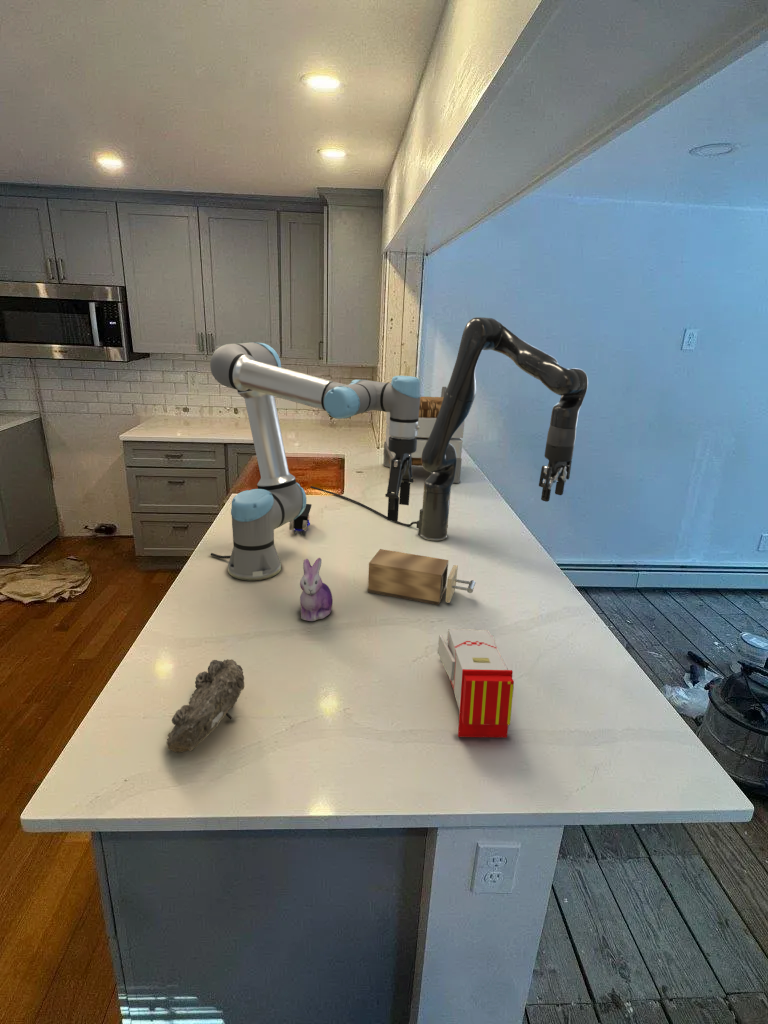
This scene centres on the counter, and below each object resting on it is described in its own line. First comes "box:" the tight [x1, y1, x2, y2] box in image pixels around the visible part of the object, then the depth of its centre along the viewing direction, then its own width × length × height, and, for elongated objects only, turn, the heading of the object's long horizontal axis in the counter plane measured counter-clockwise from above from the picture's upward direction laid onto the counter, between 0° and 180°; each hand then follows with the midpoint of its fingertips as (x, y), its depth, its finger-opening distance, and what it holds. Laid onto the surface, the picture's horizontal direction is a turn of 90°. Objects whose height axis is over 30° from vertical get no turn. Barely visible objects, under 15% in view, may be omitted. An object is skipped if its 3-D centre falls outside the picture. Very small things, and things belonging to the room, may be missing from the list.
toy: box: [437, 628, 515, 738], centre depth 117 cm, size 12×13×30 cm
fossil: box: [166, 658, 245, 754], centre depth 106 cm, size 22×10×15 cm
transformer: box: [383, 386, 466, 484], centre depth 268 cm, size 34×33×41 cm
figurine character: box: [288, 503, 313, 535], centre depth 199 cm, size 7×8×15 cm
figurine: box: [299, 557, 333, 622], centre depth 143 cm, size 9×10×15 cm
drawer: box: [440, 564, 476, 604], centre depth 157 cm, size 25×9×7 cm, turn 73°
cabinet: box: [367, 548, 450, 606], centre depth 159 cm, size 20×10×9 cm, turn 73°
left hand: (398, 512), depth 157 cm, fingers open, 13 cm apart
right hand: (551, 497), depth 163 cm, fingers open, 8 cm apart
